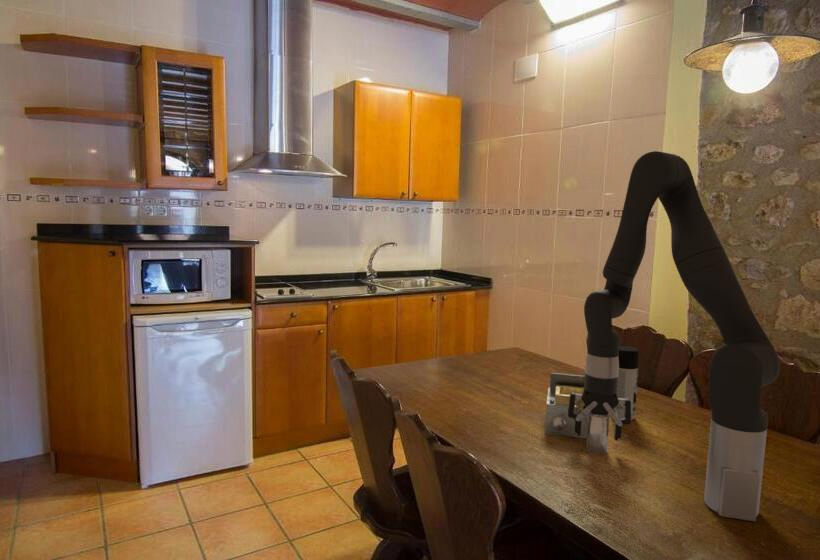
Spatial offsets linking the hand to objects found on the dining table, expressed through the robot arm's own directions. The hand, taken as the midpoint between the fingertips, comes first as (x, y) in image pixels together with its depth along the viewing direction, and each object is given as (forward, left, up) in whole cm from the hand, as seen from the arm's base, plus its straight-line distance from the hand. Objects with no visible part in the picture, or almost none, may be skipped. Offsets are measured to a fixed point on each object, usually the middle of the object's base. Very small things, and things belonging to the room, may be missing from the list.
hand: (597, 437), depth 129 cm
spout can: (0, 0, -3) cm, 3 cm away
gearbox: (+11, +7, -3) cm, 14 cm away
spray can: (+25, -8, -3) cm, 26 cm away
